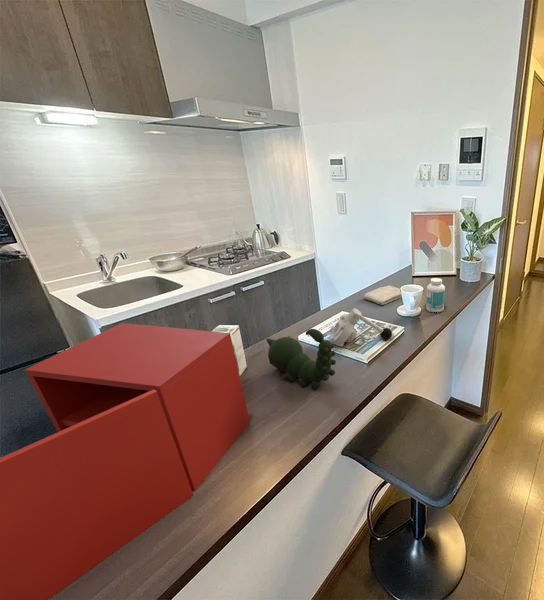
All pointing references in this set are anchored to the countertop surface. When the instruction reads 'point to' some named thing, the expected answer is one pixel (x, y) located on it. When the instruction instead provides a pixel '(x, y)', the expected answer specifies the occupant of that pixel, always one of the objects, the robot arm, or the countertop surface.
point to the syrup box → (235, 344)
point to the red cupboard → (152, 386)
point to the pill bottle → (435, 295)
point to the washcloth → (383, 295)
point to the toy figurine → (302, 359)
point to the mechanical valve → (346, 328)
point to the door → (85, 496)
